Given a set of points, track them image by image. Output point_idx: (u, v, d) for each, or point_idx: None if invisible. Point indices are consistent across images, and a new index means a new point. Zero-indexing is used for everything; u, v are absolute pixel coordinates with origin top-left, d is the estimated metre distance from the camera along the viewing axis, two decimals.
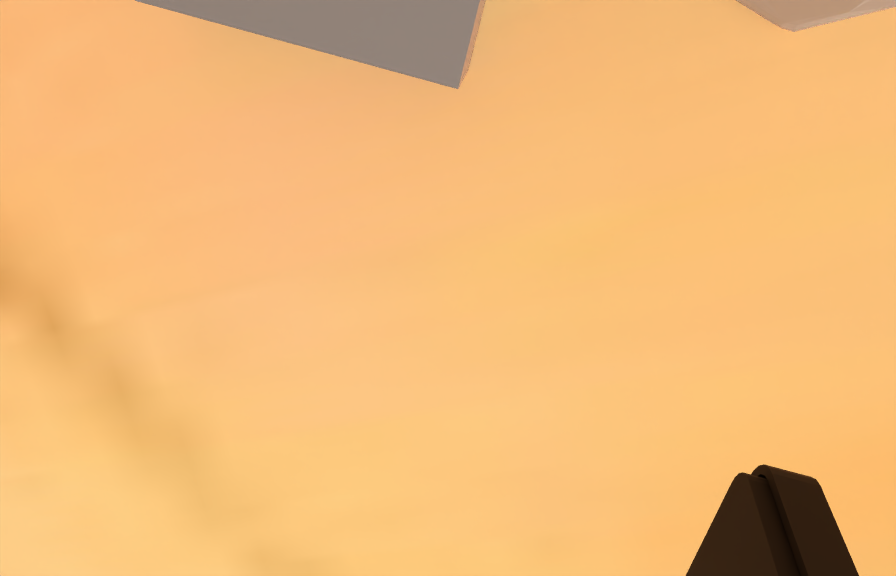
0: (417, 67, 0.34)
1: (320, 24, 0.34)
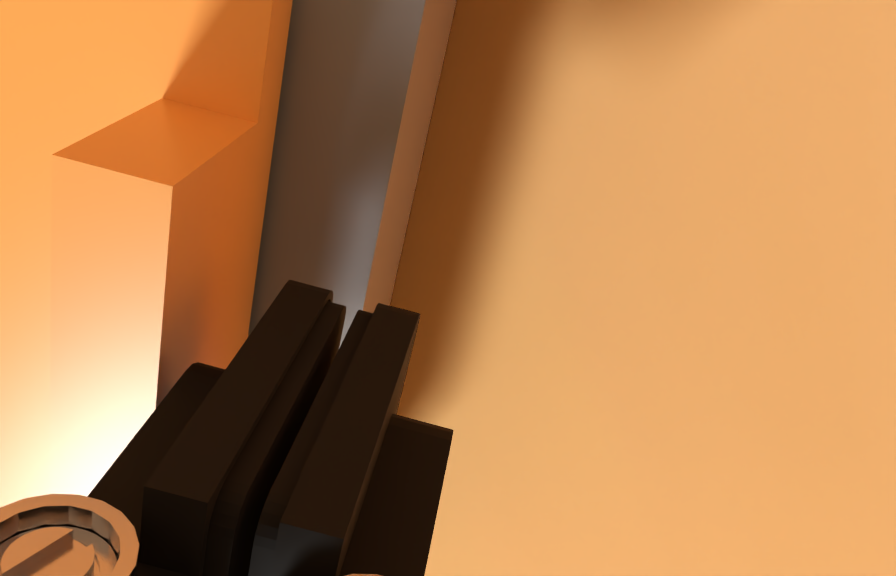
0: None
1: None
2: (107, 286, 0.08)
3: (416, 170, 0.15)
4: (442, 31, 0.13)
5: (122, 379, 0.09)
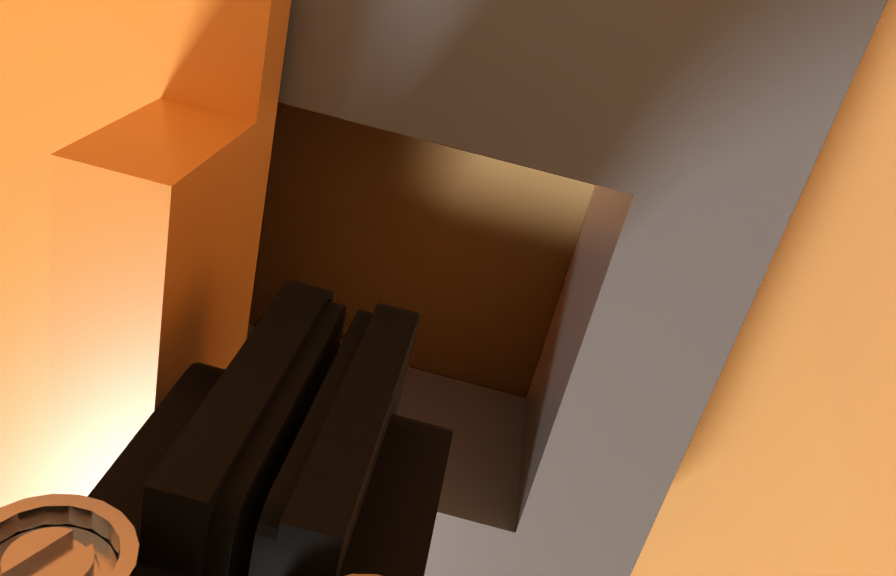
0: None
1: None
2: (106, 285, 0.08)
3: None
4: None
5: (121, 378, 0.09)
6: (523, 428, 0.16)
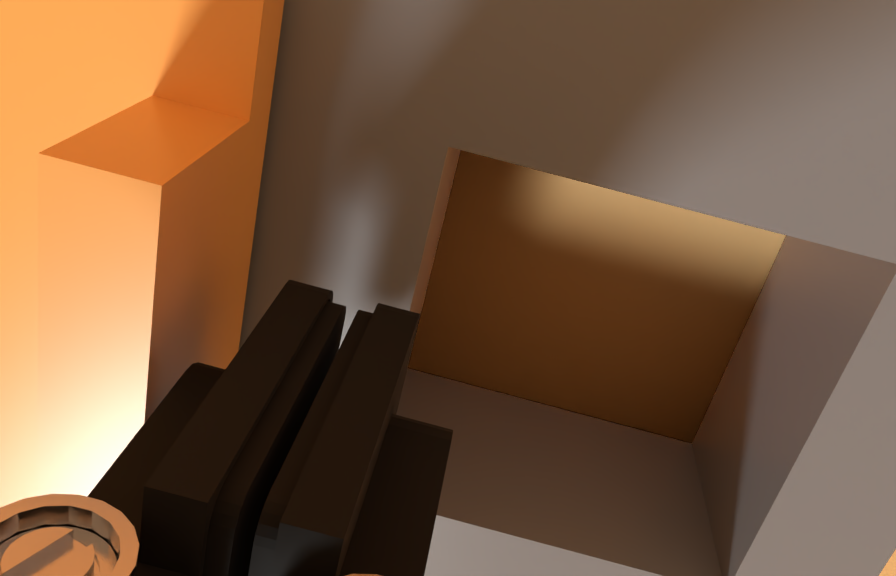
0: None
1: None
2: (95, 285, 0.08)
3: None
4: None
5: (112, 380, 0.09)
6: (699, 477, 0.16)
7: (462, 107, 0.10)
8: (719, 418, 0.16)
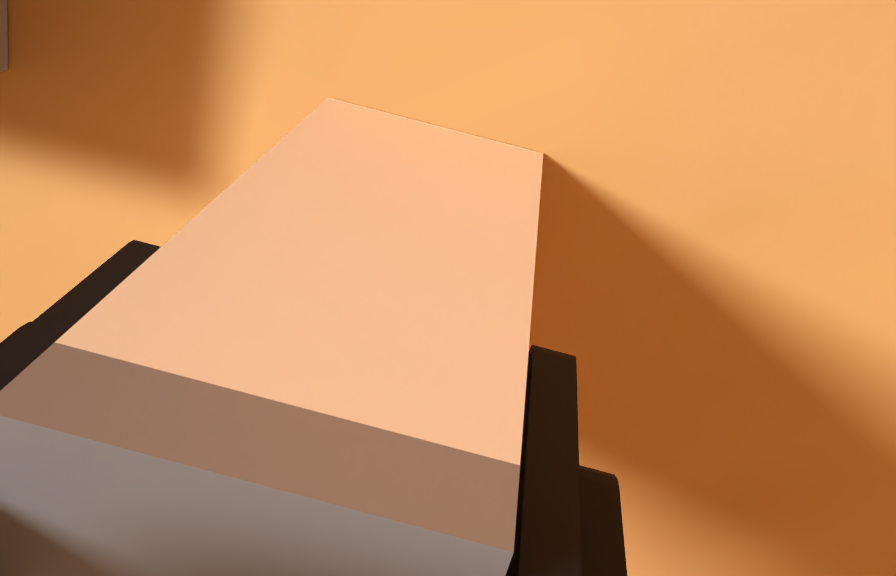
0: None
1: None
2: None
3: None
4: None
5: None
6: None
7: None
8: None
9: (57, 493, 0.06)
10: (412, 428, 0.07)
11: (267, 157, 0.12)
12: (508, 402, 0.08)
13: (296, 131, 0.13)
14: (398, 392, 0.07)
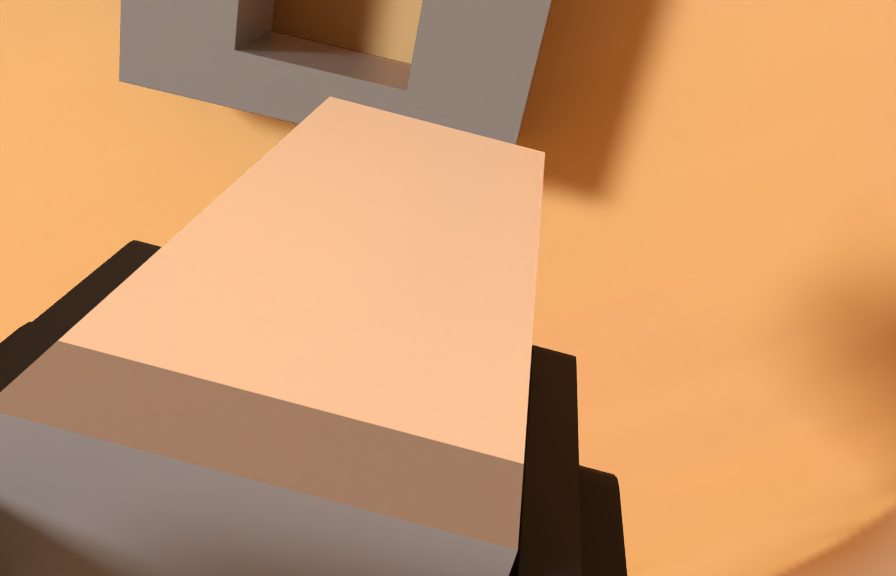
0: None
1: None
2: None
3: None
4: None
5: None
6: (262, 35, 0.31)
7: None
8: (296, 41, 0.31)
9: (60, 491, 0.06)
10: (415, 425, 0.07)
11: (269, 156, 0.12)
12: (511, 400, 0.08)
13: (298, 130, 0.13)
14: (400, 390, 0.07)
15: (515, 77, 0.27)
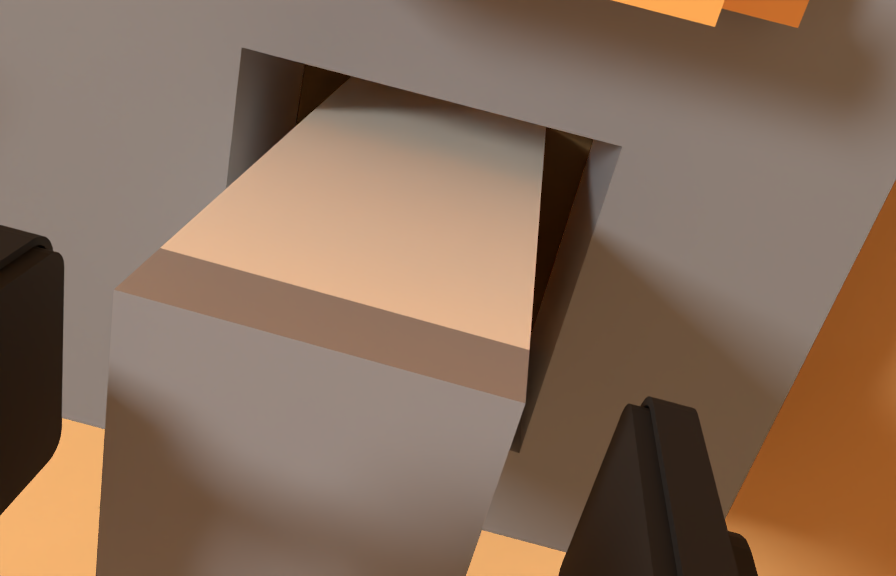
0: None
1: None
2: None
3: None
4: None
5: None
6: None
7: (655, 159, 0.13)
8: None
9: (169, 359, 0.08)
10: (444, 320, 0.09)
11: (307, 120, 0.13)
12: (519, 308, 0.09)
13: (329, 100, 0.15)
14: (430, 296, 0.09)
15: (727, 448, 0.15)
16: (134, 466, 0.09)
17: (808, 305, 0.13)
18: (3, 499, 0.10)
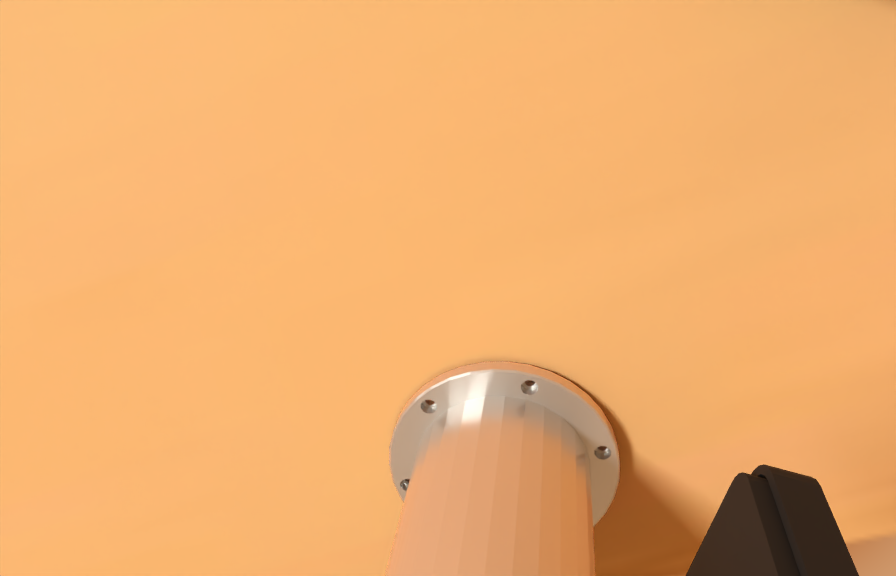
0: None
1: None
2: None
3: None
4: None
5: None
6: None
7: None
8: None
9: None
10: None
11: None
12: None
13: None
14: None
15: None
16: None
17: None
18: None
